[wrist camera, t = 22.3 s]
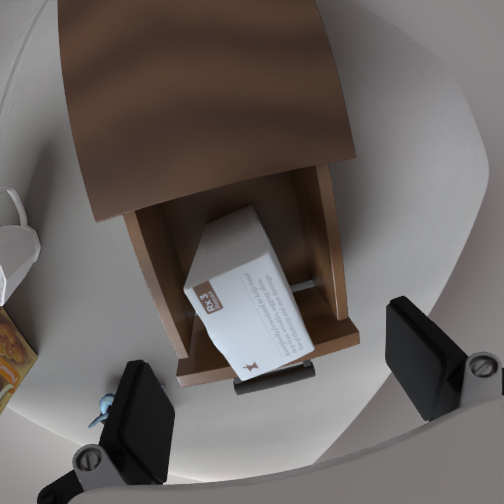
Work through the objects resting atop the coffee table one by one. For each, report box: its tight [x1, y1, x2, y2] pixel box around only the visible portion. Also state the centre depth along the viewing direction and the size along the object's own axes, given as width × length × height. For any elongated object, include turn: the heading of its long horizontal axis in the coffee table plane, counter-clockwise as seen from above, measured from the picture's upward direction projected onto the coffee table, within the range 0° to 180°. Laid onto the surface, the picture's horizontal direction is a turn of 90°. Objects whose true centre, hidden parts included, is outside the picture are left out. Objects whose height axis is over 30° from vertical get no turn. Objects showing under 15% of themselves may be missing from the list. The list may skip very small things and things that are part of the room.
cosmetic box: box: [184, 204, 315, 381], centre depth 19 cm, size 6×4×12 cm
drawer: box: [123, 163, 360, 395], centre depth 22 cm, size 19×13×8 cm
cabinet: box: [58, 0, 356, 223], centre depth 17 cm, size 16×15×10 cm
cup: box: [0, 186, 41, 306], centre depth 20 cm, size 7×10×8 cm
